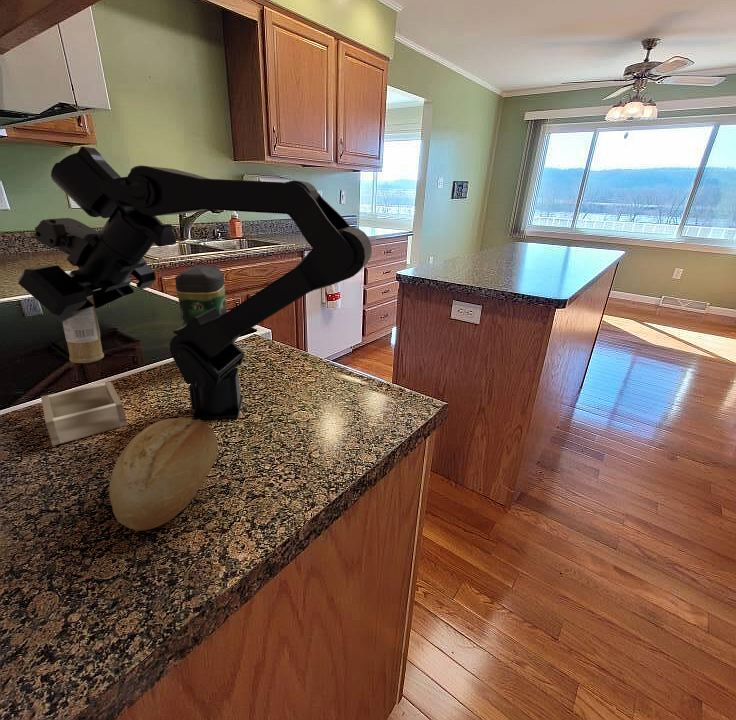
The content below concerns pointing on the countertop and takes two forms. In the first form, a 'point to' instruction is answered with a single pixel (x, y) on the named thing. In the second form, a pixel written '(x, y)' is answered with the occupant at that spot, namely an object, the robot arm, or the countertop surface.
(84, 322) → the sprinkles bottle
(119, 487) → the bread roll
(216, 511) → the countertop surface
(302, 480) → the countertop surface
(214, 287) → the coffee jar
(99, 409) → the guard collar
